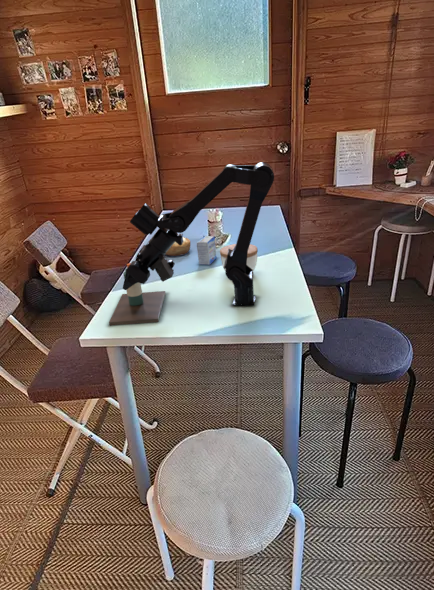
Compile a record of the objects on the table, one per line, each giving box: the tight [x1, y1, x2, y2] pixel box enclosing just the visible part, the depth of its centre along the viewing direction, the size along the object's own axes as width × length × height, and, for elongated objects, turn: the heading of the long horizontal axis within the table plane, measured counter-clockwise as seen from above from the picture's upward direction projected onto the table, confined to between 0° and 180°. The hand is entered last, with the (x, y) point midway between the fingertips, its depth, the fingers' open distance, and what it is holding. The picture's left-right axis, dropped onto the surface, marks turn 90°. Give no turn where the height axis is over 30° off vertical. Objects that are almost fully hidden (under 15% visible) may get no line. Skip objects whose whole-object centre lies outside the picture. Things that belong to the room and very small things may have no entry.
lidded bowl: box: [219, 243, 258, 271], centre depth 148 cm, size 13×13×11 cm
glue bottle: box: [123, 262, 144, 306], centre depth 131 cm, size 4×4×12 cm
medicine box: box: [196, 235, 217, 266], centre depth 163 cm, size 8×4×9 cm, turn 161°
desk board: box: [108, 290, 167, 326], centre depth 132 cm, size 20×14×1 cm
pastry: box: [165, 236, 191, 257], centre depth 175 cm, size 12×12×9 cm
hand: (128, 283), depth 131 cm, fingers open, 9 cm apart
